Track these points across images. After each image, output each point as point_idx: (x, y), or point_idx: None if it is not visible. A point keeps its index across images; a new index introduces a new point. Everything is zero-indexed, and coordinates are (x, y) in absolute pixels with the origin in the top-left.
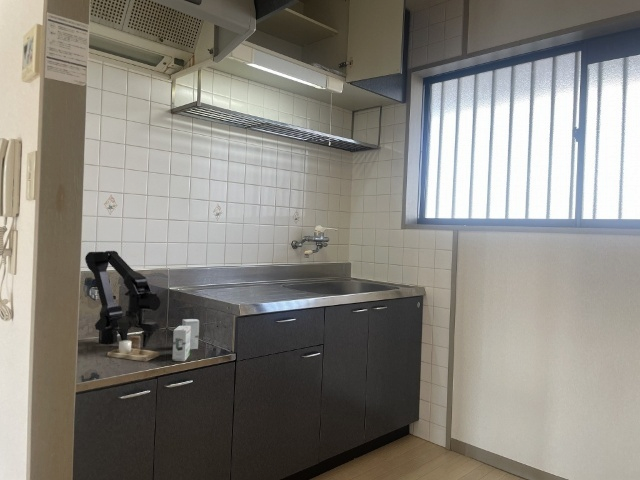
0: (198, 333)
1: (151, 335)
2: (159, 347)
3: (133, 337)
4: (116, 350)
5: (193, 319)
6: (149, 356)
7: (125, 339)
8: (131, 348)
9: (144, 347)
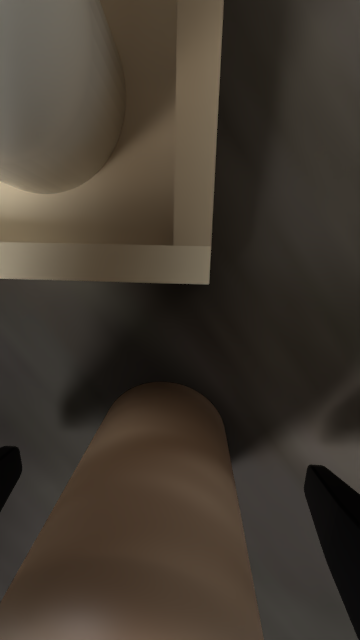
0: None
1: None
2: (7, 564)
3: (125, 624)
4: (177, 27)
5: None
6: None
7: (350, 576)
8: (24, 272)
9: (4, 454)
